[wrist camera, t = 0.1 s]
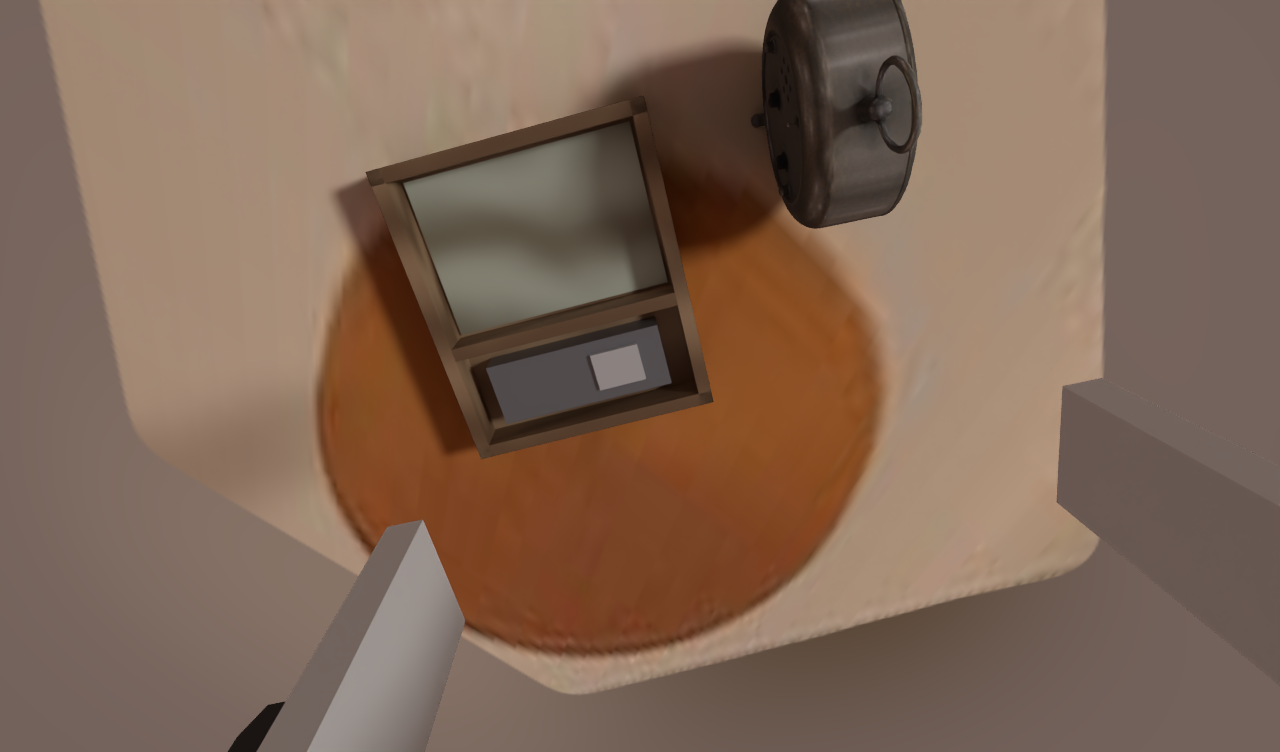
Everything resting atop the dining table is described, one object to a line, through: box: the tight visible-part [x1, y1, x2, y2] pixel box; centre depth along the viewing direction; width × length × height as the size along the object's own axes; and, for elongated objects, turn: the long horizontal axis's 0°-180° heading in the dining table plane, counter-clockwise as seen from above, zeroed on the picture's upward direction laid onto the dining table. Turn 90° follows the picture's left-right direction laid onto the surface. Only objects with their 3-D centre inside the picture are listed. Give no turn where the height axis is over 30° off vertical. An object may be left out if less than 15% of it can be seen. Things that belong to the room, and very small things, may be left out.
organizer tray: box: [366, 96, 713, 459], centre depth 37 cm, size 18×16×3 cm
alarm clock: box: [751, 0, 922, 229], centre depth 28 cm, size 11×5×16 cm, turn 12°
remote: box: [486, 316, 672, 424], centre depth 39 cm, size 4×11×2 cm, turn 104°
